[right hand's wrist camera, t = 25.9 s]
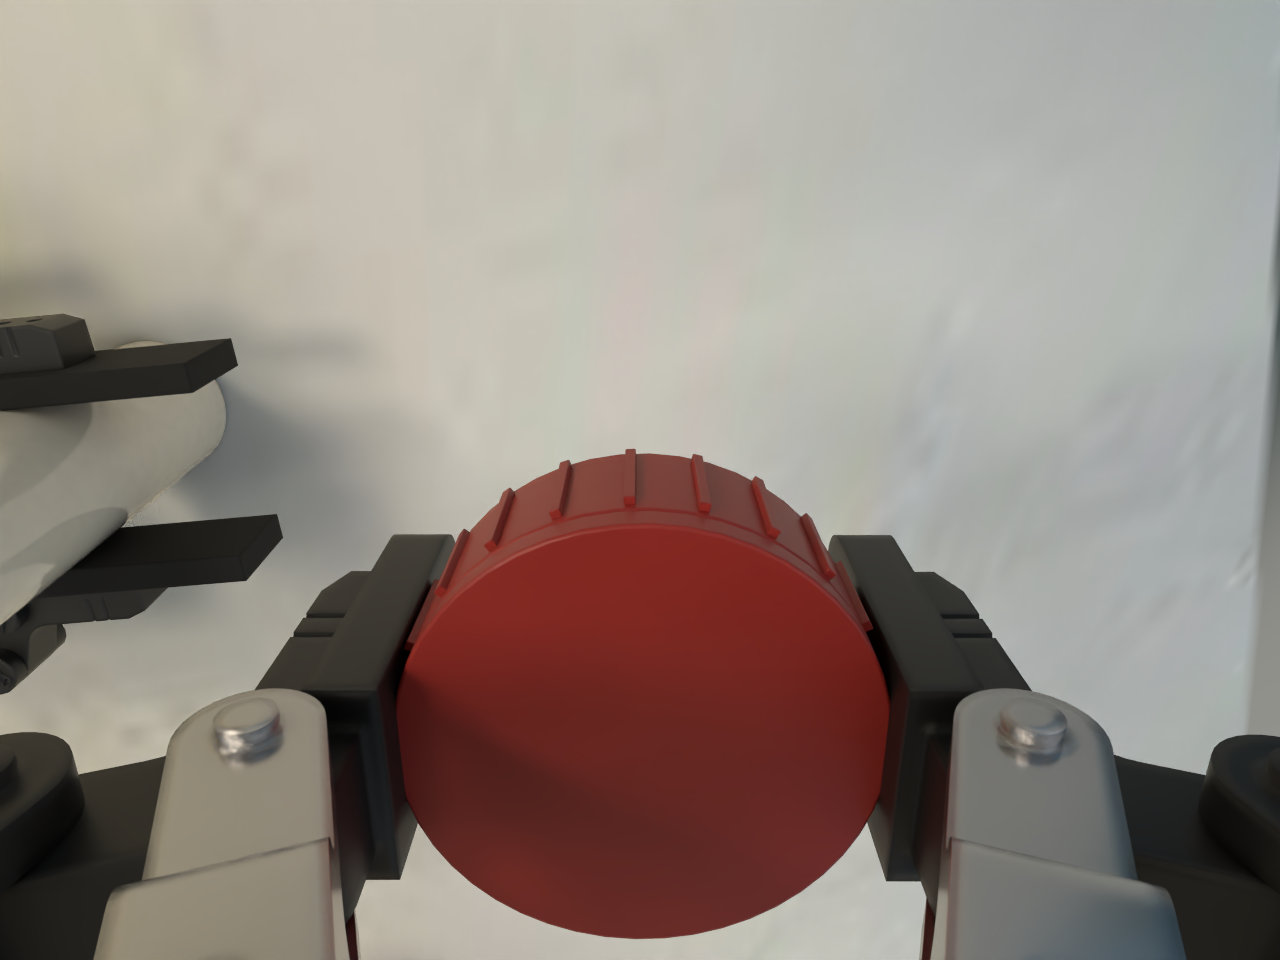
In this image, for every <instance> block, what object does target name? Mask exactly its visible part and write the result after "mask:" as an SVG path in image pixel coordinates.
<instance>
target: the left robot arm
mask: <svg viewBox="0 0 1280 960" xmlns="http://www.w3.org/2000/svg"><path fill="white" fill-rule="evenodd" d="M236 366H238V363H237V360H236V356H235V352H234V348H233V344H232V341H231V338H229V339H219V340H208V341H197V342H187V343H176V344H165V345H155V346H144V347H134V348H123V349H112V350H102V351H94V348H93V345H92V342H91V338H90V335H89V332H88V329H87V326H86V323H85V320H84V319H81V318H77V317H73V316H70V315H66V314H56V315H45V316H35V317H26V318H14V319H3V320H0V411H3V410H13V409H24V408H35V407H46V406H57V405H68V404H79V403H89V402H100V401H111V400H122V399H133V398H144V397H155V396H165V395H176V394H187V393H194V392H195V391H197V390H199V389H200V388H202V387H204V386H205V385H207V384H208V383H210V382H212V381H213V380H215V379H217V378H218V377H220V376H222V375H223V374H225V373H226V372H228V371H230V370H231V369H233V368H235V367H236ZM282 538H283V536H282V532H281V528H280V524H279V520H278V517H277V514H274V515H262V516H251V517H239V518H228V519H216V520H205V521H193V522H182V523H170V524H158V525H147V526H135V527H124V528H120V529H119V530H117V531H116V532H115V533H114V534H112V535H111V536H110V537H109V538H108V539H106V540H105V541H104V542H103V543H101V544H100V545H99V546H98V547H97V548H95V549H94V550H93V551H92V552H90V553H89V554H88V555H87V556H86V557H84V558H83V559H82V560H81V561H79V562H78V563H77V564H76V565H75V566H73V567H72V568H71V569H70V570H68V571H67V572H66V573H65V574H64V575H62V576H61V577H60V578H59V579H57V580H56V581H55V582H54V583H53V584H51V585H50V586H49V587H48V588H46V589H45V590H44V591H43V592H42V593H40V594H39V595H38V596H37V597H36V598H34V599H33V600H32V601H31V602H29V603H28V604H27V605H26V606H25V607H23V608H22V609H21V610H20V611H18V612H17V613H16V614H15V615H14V616H12V617H11V618H10V619H9V620H7V621H6V622H5V623H4V624H3V625H1V626H0V694H4V693H8V692H10V691H11V690H12V689H13V688H14V687H16V686H17V685H18V684H19V683H20V682H21V681H22V680H24V679H25V678H26V677H27V676H28V675H29V674H30V673H31V672H33V671H34V670H35V669H36V668H37V667H38V666H39V665H40V664H41V663H42V662H43V661H45V660H46V659H47V658H48V657H49V656H50V655H51V654H52V653H53V652H54V651H55V650H56V649H57V648H58V647H59V646H61V645H62V644H63V643H64V641H65V639H66V631H65V628H64V627H63V625H62V624H69V623H81V622H92V621H95V620H96V621H104V620H108V619H110V620H116V619H128V618H131V617H133V616H135V615H137V614H139V613H141V612H143V611H145V610H146V609H147V608H148V607H149V606H150V605H151V604H152V603H153V602H154V601H155V600H156V599H157V598H158V597H159V596H160V595H161V594H162V593H163V592H164V591H165V590H166V589H167V588H168V587H178V586H190V585H202V584H214V583H226V582H237V581H246V580H247V579H248V578H249V577H250V576H251V575H252V573H253V572H254V571H255V570H256V569H257V568H258V566H259V565H260V564H261V563H262V562H263V560H264V559H265V558H266V557H267V556H268V555H269V553H270V552H271V551H272V550H273V549H274V548H275V546H276V545H277V544H278V543H279V542H280V540H281V539H282Z"/></svg>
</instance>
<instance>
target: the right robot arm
mask: <svg viewBox="0 0 1280 960" xmlns="http://www.w3.org/2000/svg"><path fill="white" fill-rule="evenodd" d="M454 545H455V541H454V538H453V536H452V535H450V534H436V535H393V536H392V537H391V539H390V540H389V542H388V544H387V545H386V547H385V549H384V551H383V552H382V554H381V556H380V557H379V559H378V561H377V562H376V564H375V566H374V567H373V569H372V571H351V572H349V573H348V574H346V575H345V576H343V577H342V578H340V579H339V580H337V581H336V582H334V583H333V584H331V585H330V586H328V587H327V588H325V589H324V590H322V591H321V593H320V594H319V596H318V597H317V599H316V600H315V601H314V603H313V604H312V606H311V607H310V609H309V610H308V612H307V613H306V614H307V616H306V618H303V619H302V621H301V622H300V624H299V625H298V627H297V628H296V630H295V631H294V636H293V637H290V638H289V640H288V641H287V643H286V644H285V646H284V647H283V649H282V650H281V652H280V653H279V655H278V656H277V658H276V659H275V661H274V662H273V664H272V665H271V667H270V668H269V669H268V671H267V672H266V674H265V675H264V677H263V678H262V680H261V681H260V683H259V684H258V686H257V687H256V689H255V690H253V691H248V692H244V693H239V694H236V695H233V696H229V697H226V698H224V699H221V700H219V701H216V702H214V703H212V704H210V705H208V706H206V707H204V708H202V709H201V710H199V711H198V712H196V713H195V714H193V715H192V716H190V717H189V718H188V719H187V720H186V721H184V722H183V723H182V724H181V725H180V726H179V728H178V729H177V730H176V731H175V732H174V734H173V736H172V737H171V739H170V742H169V745H168V749H167V754H166V756H164V757H160V758H156V759H152V760H148V761H144V762H139V763H134V764H129V765H124V766H119V767H114V768H109V769H104V770H99V771H94V772H89V773H84V774H79V775H78V772H77V768H76V764H75V761H74V757H73V754H72V751H71V748H70V746H69V745H68V744H67V743H66V742H65V741H64V740H63V739H61V738H59V737H57V736H54V735H50V734H46V733H37V732H21V733H12V734H5V735H0V960H361V956H360V944H359V932H358V925H357V918H356V912H355V908H356V906H357V903H358V900H359V897H360V895H361V892H362V889H363V886H364V883H365V881H366V880H400V878H401V875H402V872H403V868H404V865H405V862H406V859H407V856H408V853H409V849H410V846H411V843H412V840H413V837H414V834H415V830H416V827H417V824H418V822H417V820H416V818H415V816H414V814H413V812H412V810H411V808H410V806H409V804H408V802H407V800H406V793H405V786H404V777H403V768H402V759H401V751H400V742H399V733H398V725H397V715H396V695H397V689H398V686H399V683H400V680H401V677H402V674H403V671H404V668H405V665H406V662H407V659H408V657H409V655H410V652H411V651H408V650H405V649H404V647H405V645H406V642H407V639H408V637H409V635H410V633H411V630H412V628H413V626H414V624H415V622H416V619H417V617H418V615H419V613H420V611H421V608H422V606H423V604H424V602H425V599H426V597H427V595H428V593H429V591H430V588H431V586H432V584H433V582H434V579H437V580H440V577H441V575H442V573H443V570H444V568H445V566H446V564H447V561H448V559H449V557H450V555H451V552H452V550H453V548H454ZM828 553H829V554H830V556H831V558H832V559H833V561H834V563H837V562H839V561H842V563H843V565H844V567H845V569H846V571H847V573H848V575H849V577H850V580H851V582H852V584H853V586H854V588H855V590H856V592H857V595H858V597H859V599H860V601H861V603H862V605H863V607H864V610H865V612H866V614H867V616H868V618H869V620H870V622H871V625H872V627H873V629H872V630H869V631H867V632H866V634H867V636H868V638H869V641H870V643H871V645H872V647H873V649H874V652H875V654H876V657H877V659H878V662H879V664H880V666H881V669H882V671H883V674H884V676H885V681H886V685H887V689H888V693H889V697H890V710H889V721H888V729H887V738H886V747H885V755H884V764H883V772H882V781H881V788H880V795H879V799H878V801H877V803H876V806H875V808H874V811H873V812H872V814H871V816H870V817H869V819H868V821H867V823H868V826H869V829H870V832H871V835H872V839H873V842H874V845H875V848H876V851H877V854H878V857H879V860H880V863H881V866H882V869H883V873H884V876H885V879H886V881H921V883H922V886H923V888H924V891H925V894H926V897H927V898H926V905H925V912H924V918H923V925H922V932H921V944H920V956H919V960H1280V737H1276V736H1267V735H1241V736H1235V737H1231V738H1228V739H1226V740H1224V741H1222V742H1220V743H1219V744H1218V745H1217V746H1216V747H1215V748H1214V750H1213V752H1212V754H1211V758H1210V761H1209V765H1208V769H1207V772H1206V775H1201V774H1196V773H1191V772H1186V771H1181V770H1176V769H1171V768H1167V767H1162V766H1157V765H1152V764H1147V763H1142V762H1138V761H1133V760H1129V759H1125V758H1122V757H1119V756H1116V755H1114V754H1113V749H1112V745H1111V742H1110V739H1109V737H1108V736H1107V734H1106V732H1105V731H1104V730H1103V729H1102V728H1101V726H1100V725H1099V724H1098V723H1097V722H1096V721H1094V720H1093V719H1092V718H1091V717H1090V716H1088V715H1087V714H1085V713H1084V712H1082V711H1081V710H1079V709H1078V708H1076V707H1074V706H1072V705H1070V704H1068V703H1066V702H1064V701H1061V700H1059V699H1056V698H1054V697H1051V696H1047V695H1044V694H1041V693H1036V692H1032V690H1031V689H1030V687H1029V686H1028V685H1027V683H1026V682H1025V680H1024V679H1023V677H1022V676H1021V674H1020V673H1019V671H1018V670H1017V669H1016V667H1015V666H1014V664H1013V663H1012V661H1011V660H1010V658H1009V657H1008V655H1007V654H1006V653H1005V651H1004V650H1003V648H1002V647H1001V645H1000V644H999V642H998V641H997V639H996V638H992V632H991V631H990V629H989V628H988V626H987V625H986V623H985V622H984V621H983V619H979V613H978V612H977V610H976V609H975V607H974V606H973V605H972V603H971V602H970V600H969V599H968V597H967V596H966V594H965V593H964V592H963V591H962V590H960V589H959V588H957V587H956V586H954V585H953V584H951V583H950V582H948V581H947V580H945V579H944V578H942V577H941V576H939V575H938V574H936V573H935V572H914V571H913V569H912V567H911V566H910V564H909V562H908V561H907V559H906V558H905V556H904V554H903V553H902V551H901V549H900V548H899V546H898V544H897V543H896V541H895V539H894V538H893V537H892V536H891V535H834V536H832V538H831V541H830V544H829V549H828Z"/></svg>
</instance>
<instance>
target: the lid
mask: <svg viewBox="0 0 1280 960" xmlns="http://www.w3.org/2000/svg"><path fill="white" fill-rule="evenodd" d="M872 629H873V627H872V625H871V622H870V620H869V618H868V616H867V614H866V612H865V610H864V607H863V605H862V603H861V601H860V599H859V597H858V595H857V592H856V590H855V588H854V586H853V584H852V582H851V580H850V577H849V575H848V573H847V571H846V569H845V567H844V565H843V563H842V561H839V562H837V563H834V561H833V559H832V558H831V556H830V554H829V553H828V551H827V549H826V548H825V546H824V544H823V543H822V541H821V538H820V536H819V534H818V532H817V529H816V527H815V525H814V523H813V520H812V518H811V517H810V516H809V515H808V514H807V513H805V514H804V515H803V516H802V517H801V516H800V515H798V514H797V513H796V512H795V511H794V510H793V509H792V508H791V507H790V506H789V505H788V504H786V503H785V502H784V501H783V500H781V499H780V498H779V497H777V496H776V495H774V494H773V493H771V492H770V491H768V490H767V489H766V487H765V484H764V482H763V480H762V479H760V478H758V477H756V476H755V477H754V479H753V480H752V481H751V480H749V479H747V478H746V477H744V476H742V475H740V474H738V473H736V472H733V471H730V470H727V469H724V468H722V467H719V466H716V465H713V464H711V463H707V462H703V457H702V456H700V455H696V454H693V456H692V459H689V458H685V457H680V456H670V455H659V454H636V450H635V449H626V452H625V454H621V455H614V456H607V457H601V458H594V459H589V460H586V461H582V462H579V463H575V464H572V465H571V463H570V461H569V460H567V461H564V462H561V463H560V466H559V469H557V470H555V471H552V472H550V473H548V474H545V475H543V476H541V477H538V478H536V479H534V480H533V481H531V482H529V483H528V484H526V485H524V486H523V487H521V488H519V489H518V490H516V491H513V490H512V489H511V488H508V489H507V490H506V491H504V492H503V494H502V496H501V499H500V502H499V503H498V504H497V505H496V506H495V507H493V508H492V509H491V510H490V511H489V512H488V513H487V514H486V515H485V516H484V517H483V518H482V519H481V520H480V521H479V522H478V523H477V524H476V525H475V526H474V527H473V529H472V530H471V531H470V532H469V531H467V530H466V529H463V531H462V532H461V533H460V534H459V536H458V539H457V541H456V543H455V545H454V548H453V550H452V552H451V555H450V557H449V559H448V561H447V564H446V566H445V568H444V570H443V573H442V575H441V577H440V580H437V579H434V582H433V584H432V586H431V588H430V591H429V593H428V595H427V597H426V599H425V602H424V604H423V606H422V608H421V611H420V613H419V615H418V617H417V619H416V622H415V624H414V626H413V628H412V630H411V633H410V635H409V637H408V639H407V642H406V645H405V647H404V649H405V650H408V651H411V652H410V655H409V657H408V659H407V662H406V665H405V668H404V671H403V674H402V677H401V680H400V683H399V686H398V689H397V695H396V715H397V725H398V733H399V742H400V751H401V759H402V768H403V777H404V786H405V793H406V800H407V802H408V804H409V806H410V808H411V810H412V812H413V814H414V816H415V818H416V820H417V822H418V824H419V825H420V826H421V828H422V829H423V831H424V832H425V834H426V835H427V837H428V838H429V840H430V841H431V843H432V844H433V845H434V847H435V848H436V849H437V850H438V851H439V852H440V853H441V854H442V856H443V857H444V858H445V859H446V860H447V861H448V862H449V863H450V865H451V866H453V867H454V868H455V869H456V870H457V871H458V872H459V873H461V874H462V875H463V876H464V877H465V878H466V879H467V880H469V881H470V882H471V883H472V884H473V885H475V886H476V887H478V888H479V889H481V890H482V891H484V892H485V893H487V894H488V895H490V896H491V897H492V898H494V899H495V900H497V901H499V902H501V903H503V904H505V905H507V906H509V907H510V908H512V909H514V910H516V911H518V912H520V913H522V914H525V915H527V916H530V917H532V918H535V919H537V920H540V921H542V922H545V923H547V924H551V925H554V926H558V927H561V928H565V929H568V930H572V931H575V932H581V933H586V934H592V935H598V936H604V937H615V938H629V939H653V938H670V937H678V936H686V935H694V934H698V933H703V932H707V931H712V930H716V929H721V928H724V927H727V926H730V925H733V924H736V923H739V922H742V921H745V920H748V919H751V918H753V917H755V916H757V915H759V914H761V913H764V912H766V911H768V910H770V909H772V908H775V907H777V906H778V905H780V904H782V903H783V902H785V901H787V900H788V899H790V898H792V897H793V896H795V895H797V894H798V893H800V892H801V891H803V890H804V889H805V888H807V887H808V886H809V885H811V884H812V883H813V882H814V881H816V880H817V879H818V878H820V877H821V876H822V875H823V874H824V873H825V872H827V871H828V870H829V869H830V868H831V867H832V866H833V865H834V864H835V863H836V862H837V861H838V860H839V859H840V858H841V857H842V856H843V855H844V853H845V852H846V851H847V850H848V848H849V847H850V846H851V844H852V843H853V842H854V841H855V839H856V838H857V837H858V836H859V834H860V833H861V831H862V829H863V828H864V826H865V824H866V823H867V821H868V819H869V817H870V816H871V814H872V812H873V811H874V808H875V806H876V803H877V801H878V799H879V795H880V788H881V781H882V772H883V764H884V755H885V747H886V738H887V729H888V721H889V710H890V697H889V693H888V689H887V685H886V681H885V676H884V674H883V671H882V669H881V666H880V664H879V662H878V659H877V657H876V654H875V652H874V649H873V647H872V645H871V643H870V641H869V638H868V636H867V634H866V632H867V631H869V630H872Z"/></svg>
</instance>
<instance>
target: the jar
mask: <svg viewBox="0 0 1280 960" xmlns="http://www.w3.org/2000/svg"><path fill="white" fill-rule="evenodd" d="M155 345H165V344H163V343H159V342H151V341H139V342H132V343H128V344H125V345H122V346H120V347H117V348H115V349H123V348H134V347H144V346H155ZM225 426H226V407H225V402H224V398H223V395H222V392H221V390H220V388H219V386H218V384H217V382H216V381H215V380H213V381H212V382H210V383H208V384H207V385H205V386H204V387H202V388H200V389H199V390H197V391H195V392H194V393H187V394H176V395H165V396H155V397H144V398H133V399H122V400H111V401H100V402H89V403H79V404H68V405H57V406H46V407H35V408H24V409H13V410H3V411H0V626H1V625H3V624H4V623H5V622H6V621H7V620H9V619H10V618H11V617H12V616H14V615H15V614H16V613H17V612H18V611H20V610H21V609H22V608H23V607H25V606H26V605H27V604H28V603H29V602H31V601H32V600H33V599H34V598H36V597H37V596H38V595H39V594H40V593H42V592H43V591H44V590H45V589H46V588H48V587H49V586H50V585H51V584H53V583H54V582H55V581H56V580H57V579H59V578H60V577H61V576H62V575H64V574H65V573H66V572H67V571H68V570H70V569H71V568H72V567H73V566H75V565H76V564H77V563H78V562H79V561H81V560H82V559H83V558H84V557H86V556H87V555H88V554H89V553H90V552H92V551H93V550H94V549H95V548H97V547H98V546H99V545H100V544H101V543H103V542H104V541H105V540H106V539H108V538H109V537H110V536H111V535H112V534H114V533H115V532H116V531H117V530H119V529H120V528H121V527H122V526H123V525H125V524H126V523H127V522H128V521H130V520H131V519H132V518H133V517H134V516H136V515H137V514H138V513H139V512H141V511H142V510H143V509H144V508H145V507H147V506H148V505H149V504H150V503H151V502H153V501H154V500H155V499H156V498H158V497H159V496H160V495H161V494H162V493H164V492H165V491H166V490H167V489H169V488H170V487H171V486H172V485H173V484H175V483H176V482H177V481H178V480H180V479H181V478H182V477H183V476H184V475H186V474H187V473H188V472H189V471H191V470H192V469H193V468H194V467H195V466H197V465H198V464H199V463H200V462H202V461H203V460H204V459H205V458H206V457H208V456H209V455H210V454H211V453H212V452H213V451H214V450H215V448H216V447H217V446H218V444H219V442H220V441H221V439H222V436H223V434H224V430H225Z"/></svg>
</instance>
